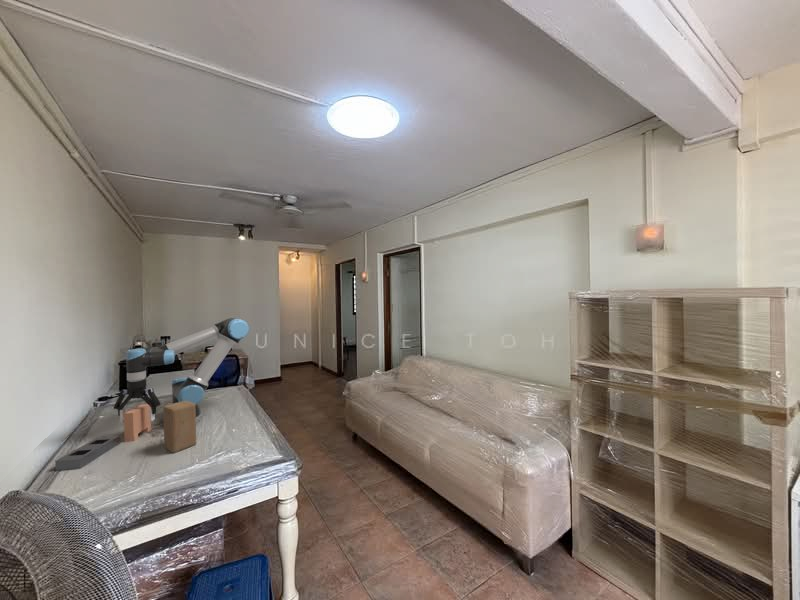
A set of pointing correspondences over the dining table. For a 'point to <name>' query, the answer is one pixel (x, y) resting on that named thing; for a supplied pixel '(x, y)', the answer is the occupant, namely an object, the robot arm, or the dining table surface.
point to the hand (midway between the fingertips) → (137, 421)
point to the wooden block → (179, 425)
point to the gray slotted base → (87, 453)
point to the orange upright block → (136, 422)
